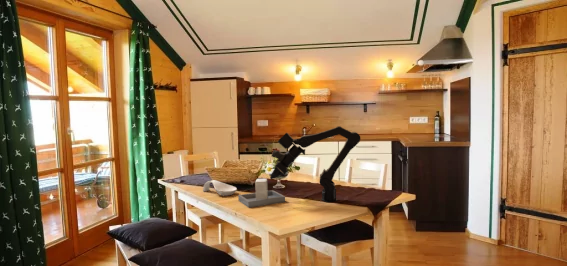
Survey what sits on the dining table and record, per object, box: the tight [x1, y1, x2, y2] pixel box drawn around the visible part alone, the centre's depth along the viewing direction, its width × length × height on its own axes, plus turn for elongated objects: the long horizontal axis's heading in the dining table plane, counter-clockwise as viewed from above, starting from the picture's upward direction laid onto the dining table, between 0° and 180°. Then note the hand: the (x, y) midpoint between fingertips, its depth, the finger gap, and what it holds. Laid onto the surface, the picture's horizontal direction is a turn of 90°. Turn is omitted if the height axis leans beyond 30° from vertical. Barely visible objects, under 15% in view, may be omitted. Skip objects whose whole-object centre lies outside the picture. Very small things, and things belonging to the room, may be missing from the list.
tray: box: [237, 190, 286, 209], centre depth 197 cm, size 20×16×3 cm
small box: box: [254, 178, 269, 200], centre depth 197 cm, size 8×6×10 cm
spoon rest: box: [202, 179, 238, 197], centre depth 218 cm, size 24×12×7 cm, turn 53°
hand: (271, 176), depth 196 cm, fingers open, 9 cm apart
